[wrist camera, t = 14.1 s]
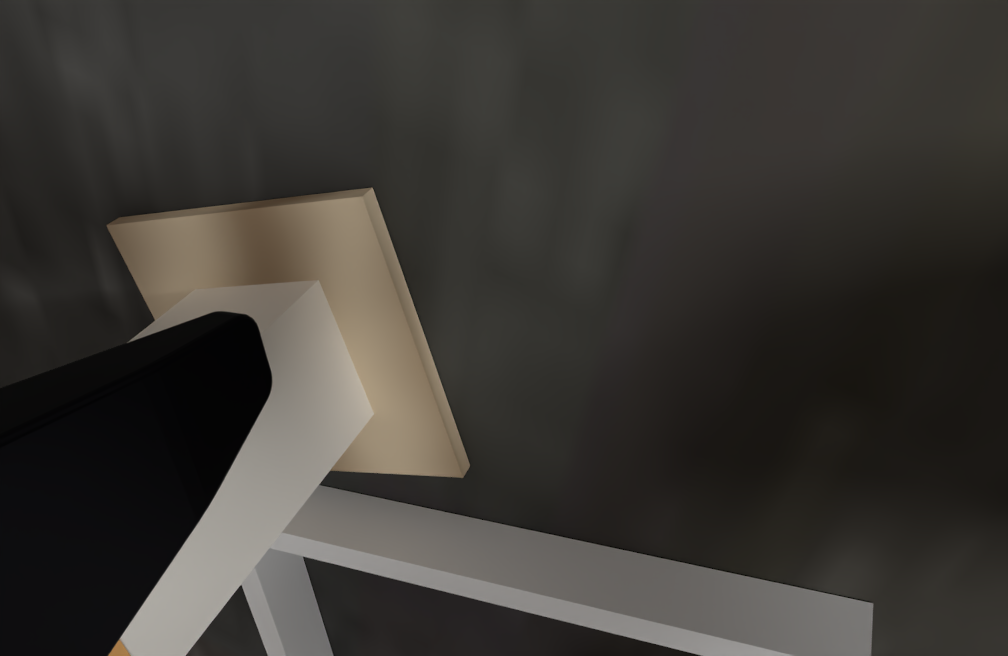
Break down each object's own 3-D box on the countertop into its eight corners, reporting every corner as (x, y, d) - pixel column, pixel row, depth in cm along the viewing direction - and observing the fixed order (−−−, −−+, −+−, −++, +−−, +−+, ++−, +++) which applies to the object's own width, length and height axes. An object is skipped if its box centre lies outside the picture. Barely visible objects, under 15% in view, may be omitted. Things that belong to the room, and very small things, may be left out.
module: (319, 278, 26) (-49, 621, 16) (375, 415, 28) (85, 788, 18) (193, 288, 28) (-198, 594, 18) (255, 414, 31) (-62, 746, 21)
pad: (372, 187, 24) (362, 196, 24) (470, 465, 29) (462, 477, 29) (119, 217, 29) (106, 225, 28) (239, 455, 33) (230, 465, 33)
